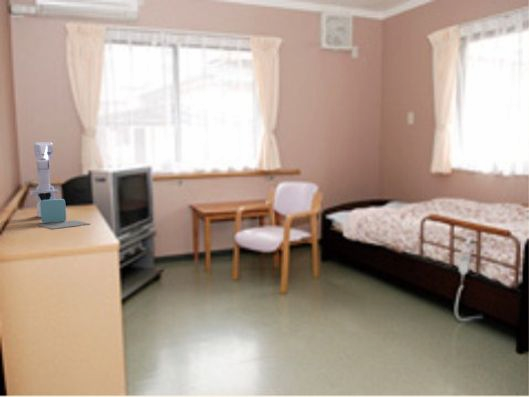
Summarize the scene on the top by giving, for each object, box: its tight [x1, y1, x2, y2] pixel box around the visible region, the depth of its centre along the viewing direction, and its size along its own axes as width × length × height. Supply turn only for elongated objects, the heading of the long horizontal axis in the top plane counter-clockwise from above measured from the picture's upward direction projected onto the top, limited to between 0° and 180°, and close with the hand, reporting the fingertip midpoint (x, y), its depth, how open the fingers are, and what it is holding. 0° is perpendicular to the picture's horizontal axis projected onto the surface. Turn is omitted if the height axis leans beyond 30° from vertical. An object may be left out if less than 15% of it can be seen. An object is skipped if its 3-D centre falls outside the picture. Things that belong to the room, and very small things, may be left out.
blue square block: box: [40, 198, 67, 224], centre depth 248 cm, size 12×4×12 cm, turn 113°
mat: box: [37, 219, 91, 230], centre depth 241 cm, size 16×20×1 cm
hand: (45, 206), depth 254 cm, fingers closed
